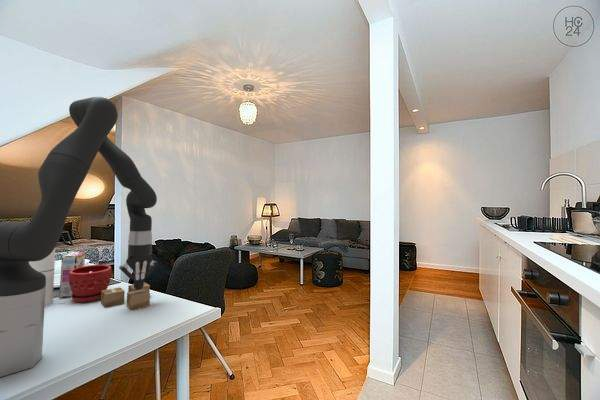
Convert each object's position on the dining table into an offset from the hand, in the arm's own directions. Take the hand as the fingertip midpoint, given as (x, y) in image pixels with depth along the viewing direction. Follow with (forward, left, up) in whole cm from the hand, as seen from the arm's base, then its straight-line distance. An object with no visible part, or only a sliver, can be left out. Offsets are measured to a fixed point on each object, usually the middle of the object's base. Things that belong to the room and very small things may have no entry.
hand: (138, 289), depth 98 cm
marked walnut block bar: (+9, +6, -6) cm, 12 cm away
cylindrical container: (+25, +25, -6) cm, 36 cm away
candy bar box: (+33, +15, -6) cm, 37 cm away
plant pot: (+21, +11, -6) cm, 24 cm away
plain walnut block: (0, 0, -6) cm, 6 cm away
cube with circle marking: (+10, -3, -6) cm, 12 cm away
